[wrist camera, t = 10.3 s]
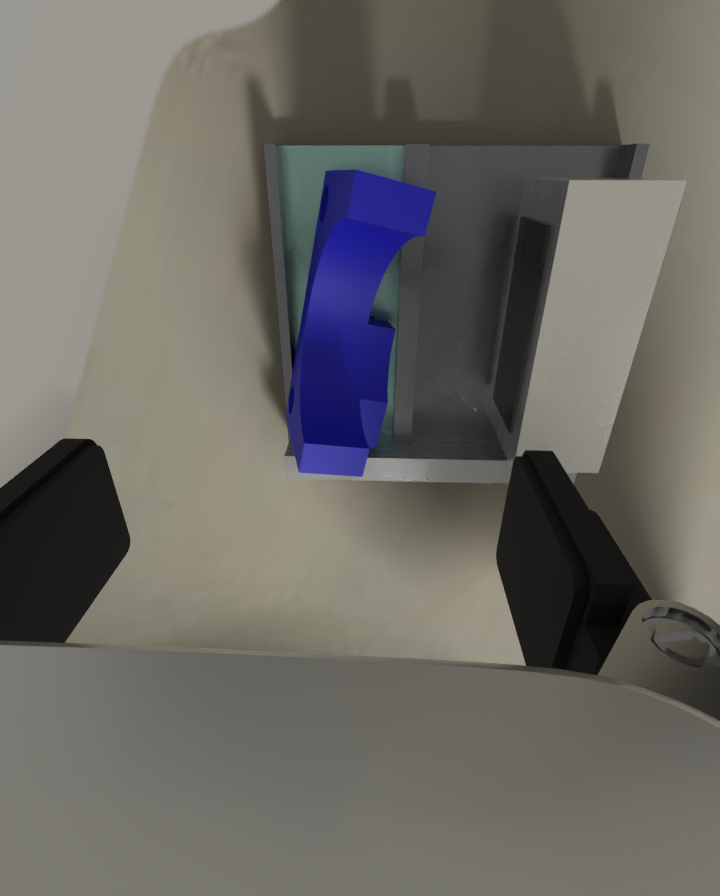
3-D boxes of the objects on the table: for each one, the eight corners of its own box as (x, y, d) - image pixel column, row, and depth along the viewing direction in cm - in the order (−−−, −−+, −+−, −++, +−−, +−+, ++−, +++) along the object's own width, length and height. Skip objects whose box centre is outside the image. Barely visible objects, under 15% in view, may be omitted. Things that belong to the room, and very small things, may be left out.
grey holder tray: (622, 146, 22) (716, 137, 16) (551, 448, 30) (594, 519, 24) (274, 146, 22) (235, 137, 16) (297, 443, 30) (276, 511, 24)
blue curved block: (362, 423, 28) (392, 478, 23) (285, 415, 26) (298, 472, 21) (418, 195, 22) (473, 201, 17) (325, 170, 21) (356, 169, 16)
